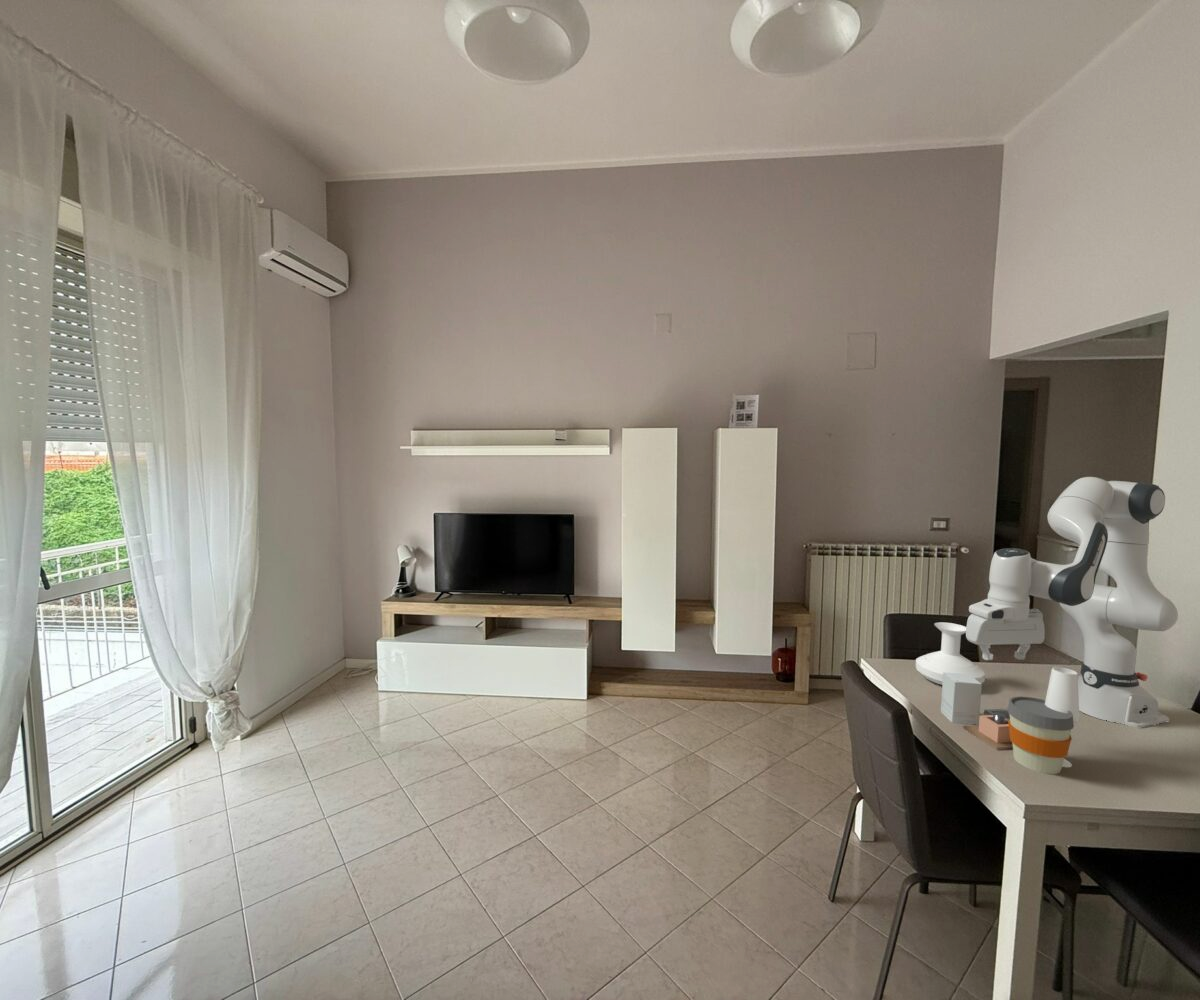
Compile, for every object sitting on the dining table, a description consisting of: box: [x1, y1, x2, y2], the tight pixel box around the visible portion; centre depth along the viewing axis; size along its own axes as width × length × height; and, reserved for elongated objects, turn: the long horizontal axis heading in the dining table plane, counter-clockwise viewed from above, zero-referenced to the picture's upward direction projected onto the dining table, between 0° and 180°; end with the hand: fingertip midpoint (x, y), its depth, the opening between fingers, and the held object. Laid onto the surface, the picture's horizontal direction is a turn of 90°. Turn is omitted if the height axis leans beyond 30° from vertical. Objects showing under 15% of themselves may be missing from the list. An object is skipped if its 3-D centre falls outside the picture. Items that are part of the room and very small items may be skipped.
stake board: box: [962, 724, 1013, 751], centre depth 140 cm, size 10×11×1 cm
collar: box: [979, 714, 1011, 743], centre depth 140 cm, size 6×8×4 cm
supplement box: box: [940, 672, 983, 725], centre depth 151 cm, size 7×7×13 cm
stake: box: [993, 712, 1005, 724], centre depth 139 cm, size 3×3×6 cm
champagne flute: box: [1044, 666, 1081, 768], centre depth 128 cm, size 7×7×24 cm
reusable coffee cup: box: [1007, 695, 1075, 775], centre depth 128 cm, size 13×13×15 cm
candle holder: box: [915, 621, 986, 686], centre depth 177 cm, size 20×20×19 cm
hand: (1003, 659), depth 138 cm, fingers open, 8 cm apart
